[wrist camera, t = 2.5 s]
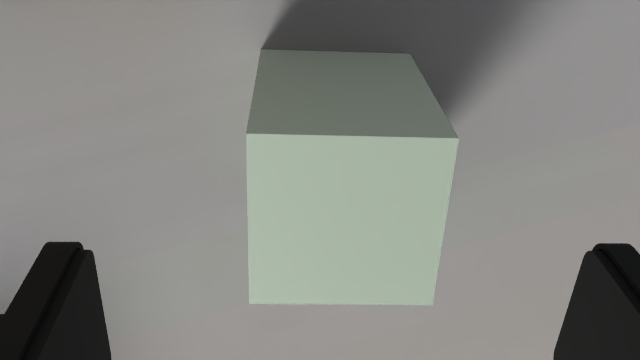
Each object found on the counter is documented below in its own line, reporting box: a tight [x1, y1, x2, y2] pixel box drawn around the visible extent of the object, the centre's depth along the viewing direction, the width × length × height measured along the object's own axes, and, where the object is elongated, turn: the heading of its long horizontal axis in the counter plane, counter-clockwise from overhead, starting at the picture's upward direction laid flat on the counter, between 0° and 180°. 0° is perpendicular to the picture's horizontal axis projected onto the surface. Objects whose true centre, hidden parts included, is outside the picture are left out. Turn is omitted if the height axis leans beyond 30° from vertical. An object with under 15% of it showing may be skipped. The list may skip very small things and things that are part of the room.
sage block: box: [246, 49, 459, 305], centre depth 19 cm, size 5×5×7 cm
